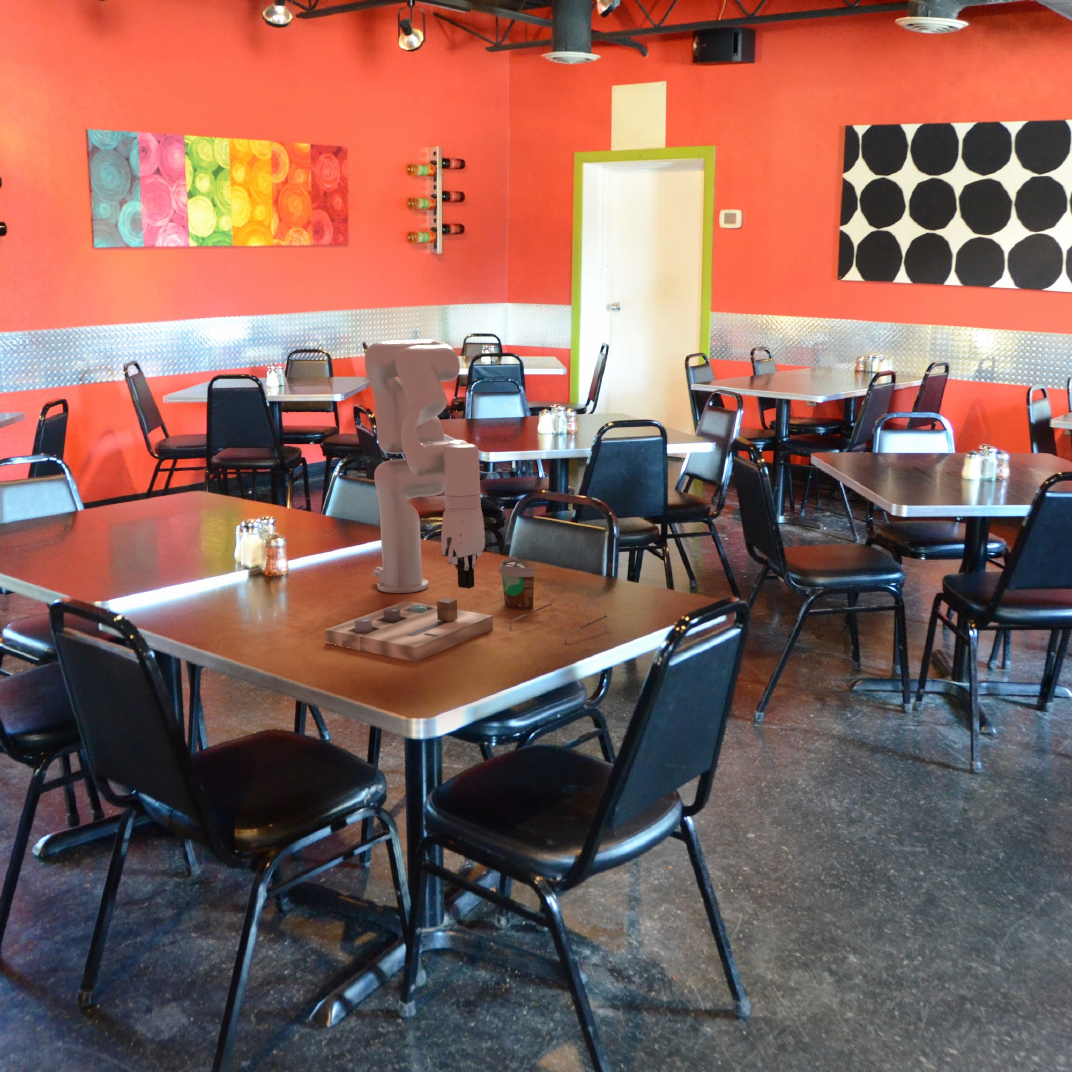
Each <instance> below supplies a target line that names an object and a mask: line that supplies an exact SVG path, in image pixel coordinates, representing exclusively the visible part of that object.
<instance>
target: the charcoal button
mask: <svg viewBox="0 0 1072 1072" xmlns="http://www.w3.org/2000/svg"><path fill="white" fill-rule="evenodd" d="M386 608H387V607H386ZM383 609H384V610H383V617H384V622H387V623H392V624H394V623H397V622H399V621H401V616H400V609H399V608H387V609H385V608H383Z"/></svg>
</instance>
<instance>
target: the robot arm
mask: <svg viewBox="0 0 1072 1072" xmlns="http://www.w3.org/2000/svg"><path fill="white" fill-rule="evenodd" d="M460 363H461V362H460V359H459V356H458V353H457V351H456V350H455V349H454V348H453V347H452V346H451V345H449V344H447V343H444V342H441V341H438V340H436V339H407V340H406V339H401V340H400V339H397V340H384V341H379V342H375V343H372V344H371V345H369V346H368V347H367V348H366V351H365V355H364V368H365V373H366V376H367V379H368V382H369V386H370V389H371V391H372V394H373V398H374V399H373V400H374V409H375V423H376V435H377V436H376V437H377V442H378V446H379V448H380V450H381V451H382V452H383V453H385V454H392V455H393V454H395V455H399V454H404V457H405V458H399V459H398V458H397V459H391V460H386V461H383V462H381V463H380V464H378V465H377V467H376V468H375V470H374V474H373V475H374V476H373V477H374V478H373V480H374V484H375V485H374V486H375V490H376V496H377V498H378V507H379V519H380V522H379V523H380V524H379V525H380V539H381V541H380V543H381V561H382V565H381V566H376V567H375V568H374V570H373V571H372V573H371V574H372V576H373V577H378V578H379V581H378V582H377V583H376V589H377V590H378V591H380V592H384V593H391V594H409V593H414V592H415V593H416V592H420V591H423V590H426V589H428V587H429V581H428V579H425V578H423V571H422V570H423V569H422V546H421V545H422V541H421V522H420V521H421V519H420V515H419V512H418V511H417V509H416V508H415V507H414V506H413V504H412V503H411V502H410V499H414V498H421V497H433V496H438V495H440V494H442V493H444V505H445V507H444V508H445V510H444V511H443V515H442V521H441V536H440V537H441V538H440V540H441V541H440V542H441V554H442V556H443V557H447V564H449V565H454V567H455V569H456V570H457V586H458V588H463V589H471V588H474V587H475V568H476V563H477V559H478V558H480V557H482V555H483V551H484V550H485V547H486V532H485V521H484V514H483V511H482V506H481V505H482V504H481V503H482V501H481V480H480V479H481V478H480V477H481V475H480V474H481V472H480V453H479V448H478V446H477V445H476V444H473V443H468V442H467V441H466V440H464V439H447V440H445V433H444V427H443V425H442V422H441V420H440V417H438V416H440V414H442V413H443V411H444V410H445V409H446V407H447V405H448V397H447V395H446V392H445V390H444V387H443V385H442V383H444V382H448V383H449V382H453V381H456V379H457V378H458V377H459V374H460V372H461V364H460Z"/></svg>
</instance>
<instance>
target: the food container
mask: <svg viewBox="0 0 1072 1072" xmlns="http://www.w3.org/2000/svg"><path fill="white" fill-rule="evenodd" d="M498 572H499V574H501V580H502V591H503V599H504V601H503V602H504V607H506V608H508V609H512V610H525V611H526V610H534V593H535V592H534V588H535V586H534V585H535V584H534V583H535V582H534V581H535V577H536V574H535V573H536V571H535V567H534V566H533V567H532V566H531V567H528V566H527V565H526V564H525V563H522V562H519V561H518V556H516V557H515V556H513V557H509V558H505V559H503V560H502V561H501V562H500V564H499V569H498Z"/></svg>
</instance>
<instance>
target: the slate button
mask: <svg viewBox="0 0 1072 1072" xmlns="http://www.w3.org/2000/svg"><path fill="white" fill-rule="evenodd" d="M358 618H359V617H358ZM355 619H356V618H355ZM370 632H373V628H372V619H370V618H359V619H356V620H355V633H360V634H367V633H370Z"/></svg>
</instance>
